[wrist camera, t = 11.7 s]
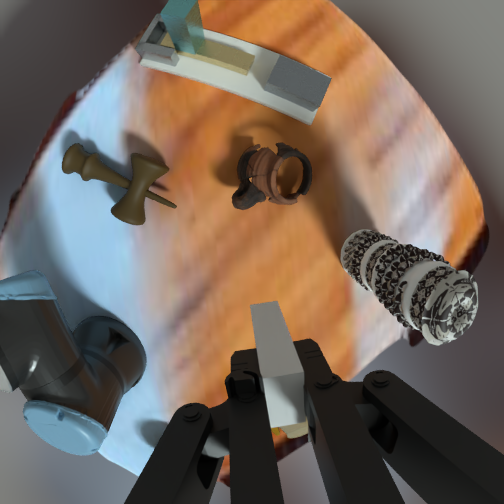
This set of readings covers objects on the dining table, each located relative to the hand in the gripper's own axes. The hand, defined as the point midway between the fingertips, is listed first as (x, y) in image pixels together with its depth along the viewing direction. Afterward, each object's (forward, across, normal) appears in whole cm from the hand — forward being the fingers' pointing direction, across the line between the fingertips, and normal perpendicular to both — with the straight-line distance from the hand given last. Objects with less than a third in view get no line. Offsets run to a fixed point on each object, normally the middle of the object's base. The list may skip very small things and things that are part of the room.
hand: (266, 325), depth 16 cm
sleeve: (+29, +10, +22) cm, 38 cm away
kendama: (+30, -17, +11) cm, 36 cm away
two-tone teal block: (+28, -2, +29) cm, 40 cm away
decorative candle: (+30, +19, -6) cm, 36 cm away
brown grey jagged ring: (+30, +4, +8) cm, 31 cm away
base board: (+29, +2, +26) cm, 39 cm away
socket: (+29, -8, +32) cm, 44 cm away
